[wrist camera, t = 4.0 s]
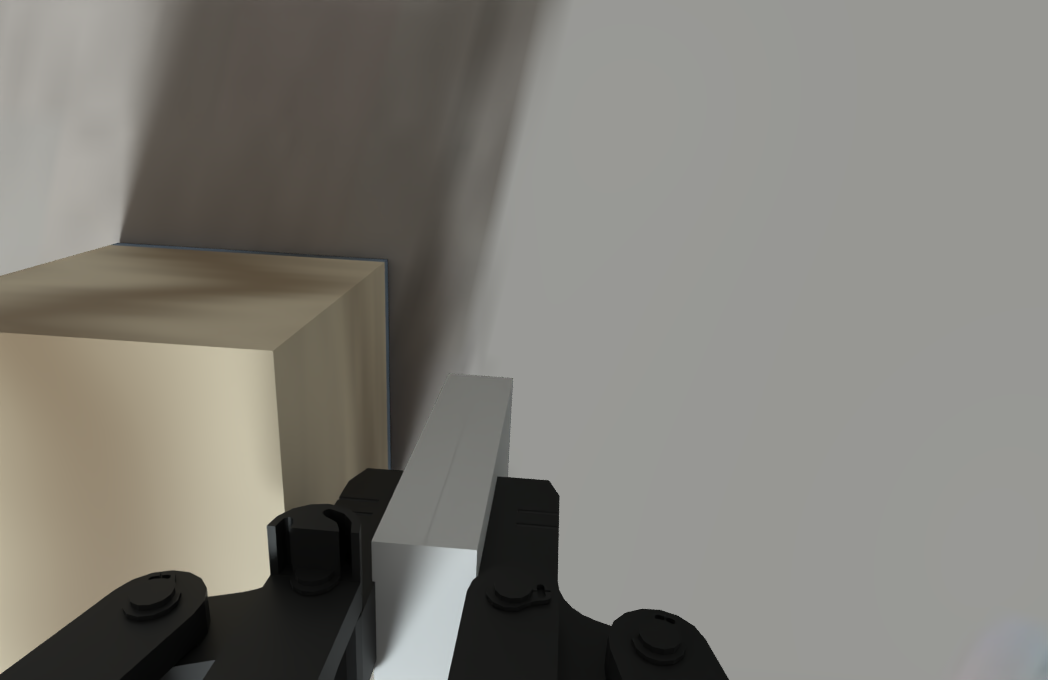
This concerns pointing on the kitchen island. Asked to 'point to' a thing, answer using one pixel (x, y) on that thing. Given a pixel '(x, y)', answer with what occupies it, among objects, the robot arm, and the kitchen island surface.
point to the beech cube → (176, 416)
